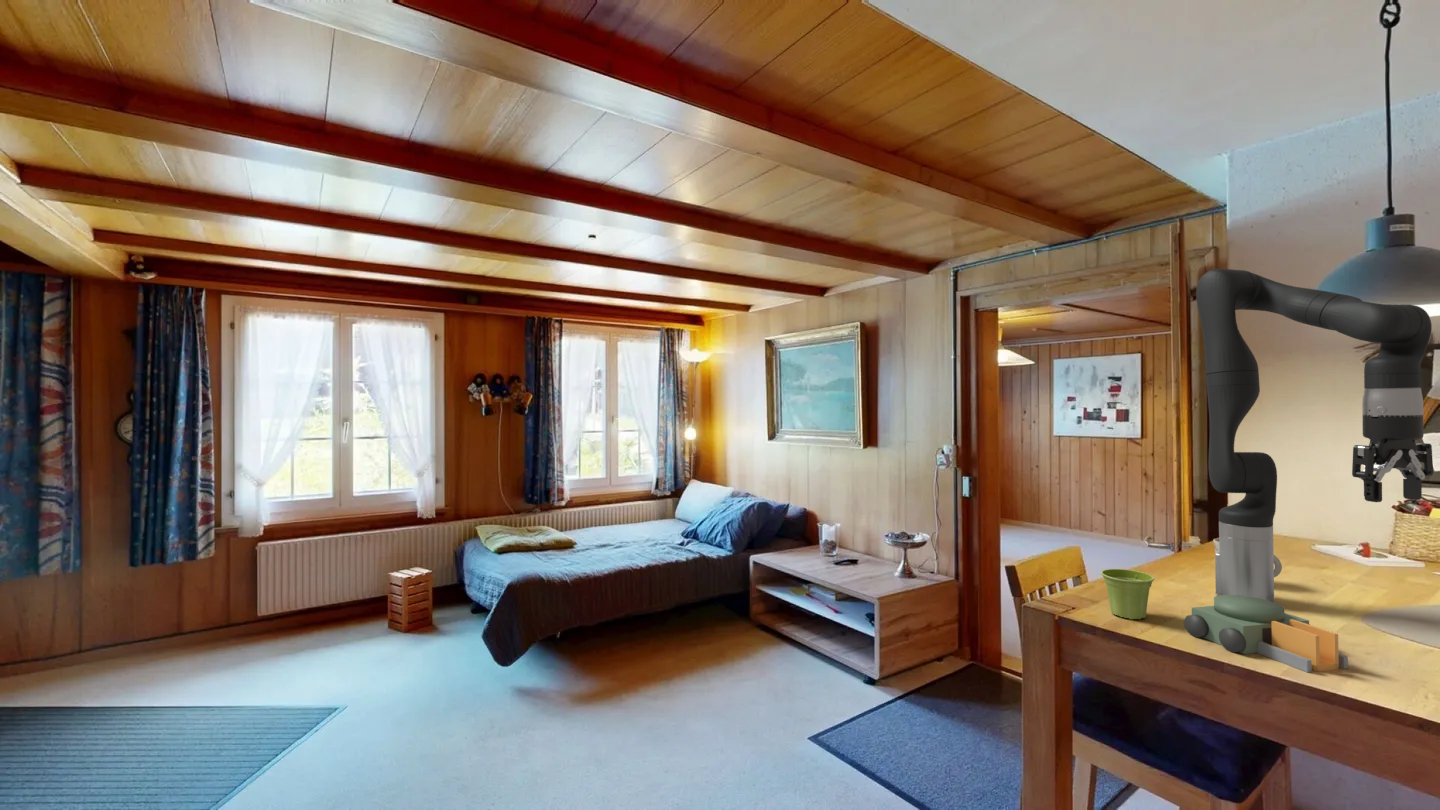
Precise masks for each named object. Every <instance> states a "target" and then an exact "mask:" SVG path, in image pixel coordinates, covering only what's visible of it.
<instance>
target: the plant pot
mask: <svg viewBox="0 0 1440 810" xmlns="http://www.w3.org/2000/svg"><path fill="white" fill-rule="evenodd" d="M1100 575H1102V577H1103V580H1104V581H1103V582H1104V583H1105V587H1106V591H1107V597H1108V603H1109V608H1110V609H1109V610H1110V613H1111V612H1112V613H1113V614H1115V615H1117V616H1118V617H1121V618H1122V617H1125V618H1129V619H1128V620H1133V619H1139V620H1141V619H1146V618H1147V617H1146V616H1147V610H1148V603H1149V595H1150V588H1151V587H1152V583H1153V582H1154V581H1155V577H1154V576H1153V575H1151V574H1149V573H1146V572H1143V571H1138V570H1133V569H1125V568H1108V569H1107V568H1106V569H1103V570H1101V571H1100ZM1112 613H1111V614H1112ZM1113 614H1112V615H1113ZM1115 615H1114V616H1115Z"/></svg>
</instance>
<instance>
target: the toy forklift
mask: <svg viewBox="0 0 1440 810" xmlns="http://www.w3.org/2000/svg"><path fill="white" fill-rule="evenodd" d="M1291 619H1293V620H1296V621H1300V622H1303V623H1306V624H1309V625H1311V624H1310V620H1309V619H1307V618H1303V617H1299V616H1297V615H1293V614H1290V613H1287V612H1285V607H1284V606H1283V605H1281V604H1279V603H1278V602H1277V603H1276V602H1275V601H1274V602H1271V601H1268V600H1264V599H1259V598H1254V597H1248V596H1241V595H1218V594H1217V595H1216V596H1214V598H1213V605H1207V606H1206V605H1205V606H1195V607H1194V606H1193V607H1191V614H1189V615H1187V616H1185V618H1184V620H1183V624H1184V628H1185V630H1186V632H1187V633H1188V634H1189V635H1190V636H1192V637H1194V638H1203V639H1206V640H1207V641H1210V642H1213V643H1215V644H1218V645H1220V646H1222V648H1224V649H1225V650H1227V651H1228V652H1230V653H1240V654H1242V655H1247V654H1248V655H1250V654H1251V655H1252V654H1259V655H1262V656H1265V657H1268V658H1270V659H1273V660H1275V661H1277V662H1280V663H1283V664H1284V665H1287V666H1289V667H1293V668H1296V669H1297V670H1300V671H1302V672H1305V673H1312V670H1311V660H1310V659H1307V658H1304V657H1302V656H1299V655H1296V654H1294V653H1291V652H1288V651H1286V650H1283V649H1280V648H1278V647H1275V646H1272V621H1277V622H1280V623H1283V624H1286V625H1289V626H1290V620H1291ZM1339 668H1341V669H1345V670H1346V669H1349V657H1348V655H1346V654H1342V653H1339Z"/></svg>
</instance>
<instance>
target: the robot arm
mask: <svg viewBox="0 0 1440 810" xmlns="http://www.w3.org/2000/svg"><path fill="white" fill-rule="evenodd" d="M1195 296H1196V297H1195V298H1196V303H1197V309H1198V314H1199V315H1198V316H1199V319H1200V325H1201V330H1202V334H1203V335H1202V338H1203V346H1204V348H1203V349H1204V360H1205V382H1206V383H1205V385H1206V394H1207V395H1206V396H1207V404H1208V405H1207V406H1208V416H1209V417H1208V418H1209V420H1208V421H1209V440H1208V443H1209V444H1208V445H1209V446H1208V475H1209V481H1210V483H1211V486H1212V487H1213V489H1214V490H1216V491H1217V492H1218V493H1225V494H1245V495H1244V497H1243V499H1241V500H1239V501H1237V502H1236V503H1234V504H1230V505H1227V506H1224V507H1221V508H1220V510H1219V511H1218V536H1219V537H1218V538H1219V553H1216V554H1215V553H1214V557H1215V558H1214V559H1215V560H1214V565H1215V567H1214V568H1215V569H1214V570H1215V572H1214V573H1215V576H1214V577H1215V594H1216V595H1217V596H1218V595H1241V596H1248V597H1254V598H1259V599H1264V600H1268V601H1271V602H1274V603H1275V577H1274V569H1275V564H1274V555H1275V554H1274V517H1275V515H1276V509H1277V508H1276V506H1277V503H1276V502H1277V489H1278V488H1277V487H1278V471H1277V465H1276V463H1275V460H1274V459H1273V458H1272V456H1271V455H1269V454H1267V453H1265V452H1260V451H1259V452H1258V451H1257V452H1256V451H1248V452H1247V451H1243V452H1242V451H1235V441H1236V436H1237V431H1238V430H1239V429H1238V428H1239V427H1240V425H1241V423H1242V422H1243V420H1244V419H1245V417H1246V416H1247V415H1248V413H1249V412H1250V411H1251V409H1252V407H1254V404H1256V401H1257V400H1258V398H1259V395H1260V392H1261V391H1260V388H1261V387H1260V374H1259V365H1258V362H1257V360H1256V357H1255V354H1254V353H1253V352H1252V350H1251V348H1250V347H1249V346H1248V344H1247V343H1246V341H1245V339H1244V338H1243V336H1242V334H1241V332H1240V330H1239V327H1238V324H1237V317H1236V316H1237V315H1236V314H1237V313H1236V311H1238V310H1241V311H1242V310H1245V311H1247V310H1248V311H1261V312H1269V313H1274V314H1278V315H1280V316H1283V317H1285V318H1286V319H1289V320H1291V321H1295V322H1297V323H1300V324H1304V325H1307V326H1313V327H1317V328H1319V329H1320V328H1321V329H1323V330H1328V331H1329V330H1330V331H1335V332H1338V333H1339V334H1342V335H1345V336H1346V337H1350V338H1353V339H1355V340H1359V341H1363V342H1368V343H1375V344H1380V347H1379V350H1378V353H1377V356H1375V357H1372V358H1369V359H1368V360H1367V361H1366V362H1365V364H1364V368H1363V369H1364V370H1363V375H1364V376H1363V382H1364V383H1363V384H1364V385H1363V387H1364V389H1363V395H1362V406H1361V407H1362V408H1361V409H1362V414H1361V415H1362V437H1363V438H1366V439H1369V443H1368V445H1362V444H1361V445H1359V444H1355V445H1353V447H1352V463H1351V464H1352V467H1351V468H1352V469H1351V476H1352V477H1353V478H1358V479H1361V481H1363V496H1364V500H1365V501H1366V502H1371V503H1381V502H1382V501H1383V482H1382V479H1383V478H1384V477H1385V475H1386V474H1387V473H1390V472H1391V471H1392V470H1393V469H1396V470H1398V471H1399V472H1400V473H1401V475H1402V476H1403V479H1402V489H1403V490H1402V491H1403V492H1402V493H1403V498H1404V499H1405V500H1411V501H1419V500H1421V499H1422V494H1423V491H1422V490H1423V489H1422V488H1423V487H1422V486H1423V484H1422V483H1423V480H1424V479H1425V478H1426V477H1427V476H1428V477H1429V476H1430V477H1431V476H1433V475H1434V464H1433V462H1434V461H1433V448H1432V444H1431V443H1425V442H1424V443H1423V442H1416V440H1421V439H1423V437H1424V398H1423V393H1422V374H1421V373H1422V370H1421V365H1422V361H1423V359H1424V357H1425V355H1426V352H1427V349H1428V348H1427V347H1428V344H1429V342H1430V338H1431V336H1432V327H1433V326H1432V325H1433V324H1432V321H1431V318H1430V315H1429V313H1428V312H1427V311H1426V310H1425V309H1424V308H1422V307H1420V306H1418V305H1414V304H1383V303H1377V302H1375V303H1374V302H1371V301H1370V302H1368V301H1364V300H1362V299H1361V298H1358V297H1356V296H1353V295H1348V294H1343V293H1338V292H1333V291H1327V290H1322V289H1321V290H1320V289H1316V288H1315V289H1314V288H1306V287H1299V286H1294V285H1289V284H1284V283H1281V282H1278V281H1275V280H1271V279H1270V278H1266V277H1264V276H1261V275H1259V274H1256V273H1254V272H1251V271H1248V270H1243V269H1230V268H1215V269H1211V270H1208V271H1207V272H1205V273H1204V274H1203V275H1202V276H1201V277H1200V279H1199V281H1198V283H1197V285H1196V291H1195ZM1422 463H1423V465H1422ZM1362 465H1363V467H1364V469H1363V470H1362V469H1361V468H1362ZM1423 466H1424V467H1423ZM1374 472H1375V473H1374Z"/></svg>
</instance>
